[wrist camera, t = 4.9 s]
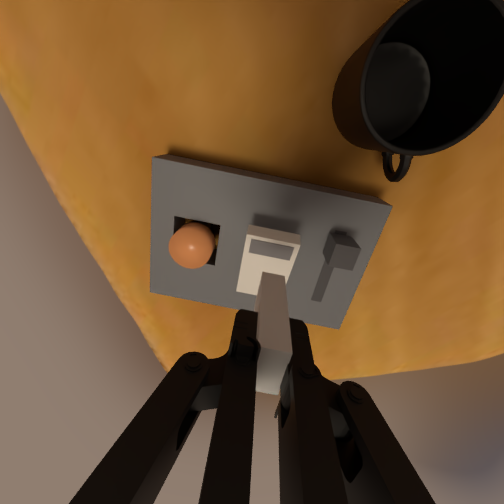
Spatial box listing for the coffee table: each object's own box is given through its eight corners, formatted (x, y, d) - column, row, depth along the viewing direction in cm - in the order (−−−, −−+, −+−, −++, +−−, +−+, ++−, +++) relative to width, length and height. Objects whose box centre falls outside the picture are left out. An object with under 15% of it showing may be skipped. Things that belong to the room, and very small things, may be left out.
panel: (167, 154, 28) (147, 157, 24) (377, 197, 29) (397, 209, 24) (162, 275, 35) (145, 297, 30) (332, 309, 35) (341, 335, 31)
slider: (329, 232, 26) (336, 243, 24) (352, 237, 26) (361, 248, 24) (322, 253, 27) (328, 266, 25) (344, 257, 27) (352, 271, 25)
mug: (329, 178, 28) (353, 196, 20) (332, 44, 23) (365, -6, 15) (419, 170, 27) (483, 185, 19) (443, 27, 22) (543, -35, 14)
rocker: (248, 224, 24) (246, 234, 23) (300, 234, 24) (300, 245, 23) (238, 280, 29) (235, 292, 28) (280, 289, 29) (280, 300, 28)
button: (187, 209, 30) (169, 225, 25) (223, 217, 30) (213, 234, 25) (184, 243, 32) (167, 264, 27) (218, 249, 32) (208, 272, 27)
